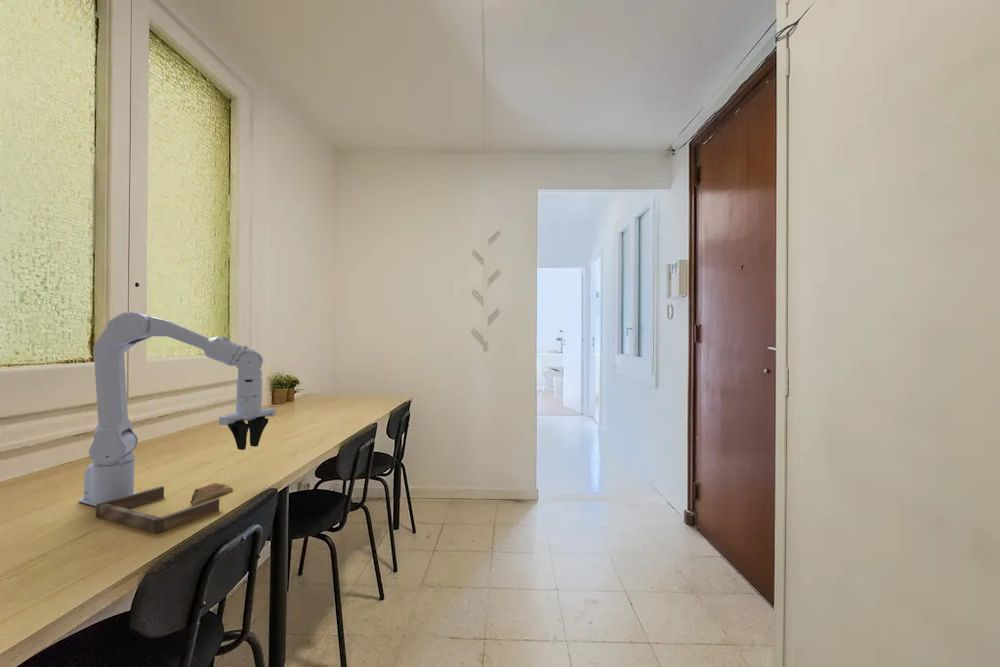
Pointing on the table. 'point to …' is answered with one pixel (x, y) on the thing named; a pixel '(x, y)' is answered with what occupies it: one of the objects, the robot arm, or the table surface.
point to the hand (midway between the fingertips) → (247, 447)
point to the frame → (121, 514)
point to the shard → (209, 492)
